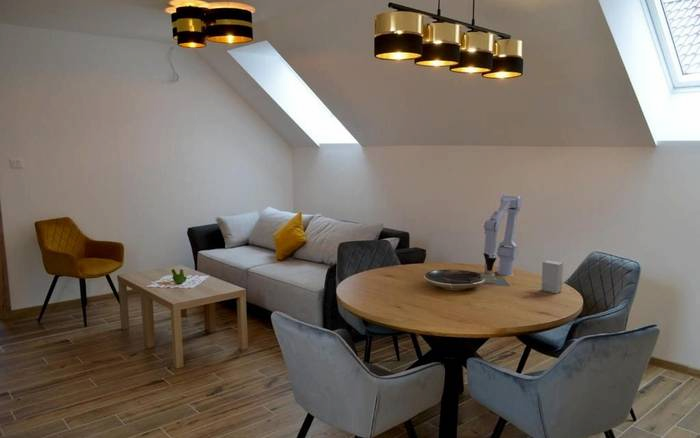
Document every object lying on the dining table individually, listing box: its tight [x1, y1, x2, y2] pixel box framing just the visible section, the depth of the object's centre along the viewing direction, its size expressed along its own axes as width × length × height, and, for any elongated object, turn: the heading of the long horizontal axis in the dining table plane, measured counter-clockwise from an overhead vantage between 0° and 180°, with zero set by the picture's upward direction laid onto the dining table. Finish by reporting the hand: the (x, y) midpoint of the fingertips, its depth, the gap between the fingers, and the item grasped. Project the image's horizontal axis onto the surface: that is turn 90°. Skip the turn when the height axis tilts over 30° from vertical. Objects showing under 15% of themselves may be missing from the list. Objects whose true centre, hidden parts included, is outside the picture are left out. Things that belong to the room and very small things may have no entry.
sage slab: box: [480, 271, 496, 279], centre depth 277 cm, size 6×6×2 cm
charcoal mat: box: [480, 277, 511, 287], centre depth 278 cm, size 16×20×1 cm
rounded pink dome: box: [483, 263, 495, 275], centre depth 277 cm, size 4×4×5 cm
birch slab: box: [479, 274, 497, 283], centre depth 278 cm, size 7×7×2 cm
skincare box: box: [541, 260, 564, 294], centre depth 264 cm, size 8×6×15 cm
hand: (488, 268), depth 277 cm, fingers open, 7 cm apart
